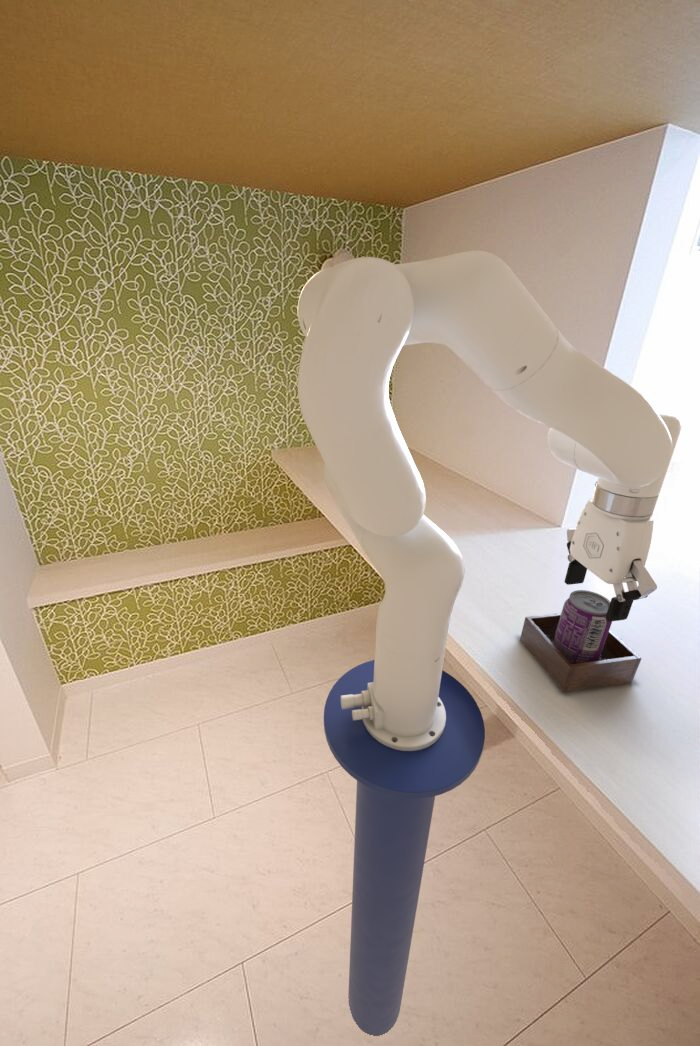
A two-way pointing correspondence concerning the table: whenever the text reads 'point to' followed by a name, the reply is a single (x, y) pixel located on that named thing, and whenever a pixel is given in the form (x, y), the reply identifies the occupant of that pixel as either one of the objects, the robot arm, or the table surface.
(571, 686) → the crate
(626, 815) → the table surface
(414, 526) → the robot arm
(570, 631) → the beverage can
